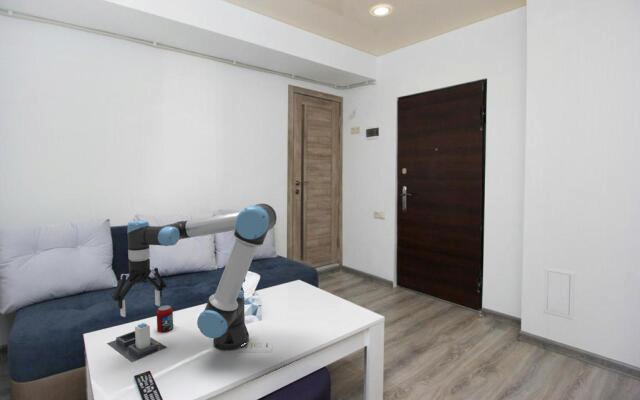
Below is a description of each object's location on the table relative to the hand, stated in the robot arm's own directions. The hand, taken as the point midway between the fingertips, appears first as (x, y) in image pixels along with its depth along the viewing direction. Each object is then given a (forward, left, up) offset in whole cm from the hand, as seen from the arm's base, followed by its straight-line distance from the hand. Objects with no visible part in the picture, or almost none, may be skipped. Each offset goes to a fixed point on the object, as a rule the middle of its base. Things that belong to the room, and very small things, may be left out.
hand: (141, 310), depth 135 cm
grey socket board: (+6, 0, -18) cm, 19 cm away
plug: (0, 0, -17) cm, 17 cm away
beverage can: (+10, -15, -18) cm, 26 cm away
